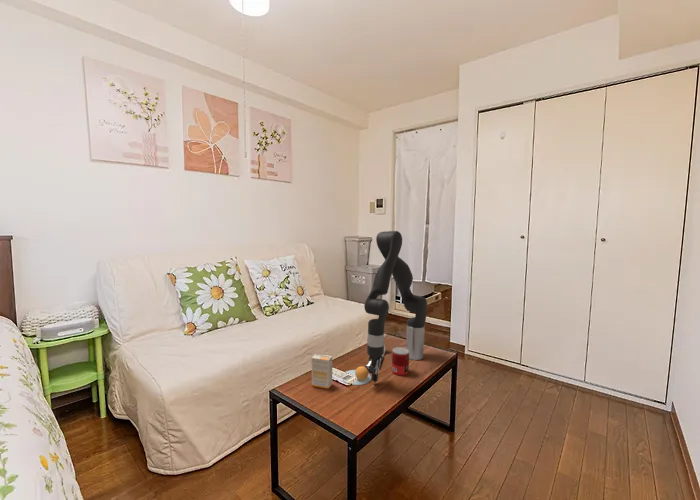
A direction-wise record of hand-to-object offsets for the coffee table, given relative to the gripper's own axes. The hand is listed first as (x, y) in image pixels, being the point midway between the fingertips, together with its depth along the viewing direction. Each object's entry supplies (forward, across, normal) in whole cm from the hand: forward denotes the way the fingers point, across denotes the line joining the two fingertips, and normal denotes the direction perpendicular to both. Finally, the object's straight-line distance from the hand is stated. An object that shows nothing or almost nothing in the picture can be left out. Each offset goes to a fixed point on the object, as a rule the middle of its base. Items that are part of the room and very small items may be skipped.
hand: (374, 380), depth 145 cm
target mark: (+2, 0, -10) cm, 10 cm away
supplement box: (+2, +15, -18) cm, 23 cm away
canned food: (+2, -17, +4) cm, 18 cm away
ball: (-2, 0, -7) cm, 7 cm away
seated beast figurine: (+2, -31, -16) cm, 35 cm away
